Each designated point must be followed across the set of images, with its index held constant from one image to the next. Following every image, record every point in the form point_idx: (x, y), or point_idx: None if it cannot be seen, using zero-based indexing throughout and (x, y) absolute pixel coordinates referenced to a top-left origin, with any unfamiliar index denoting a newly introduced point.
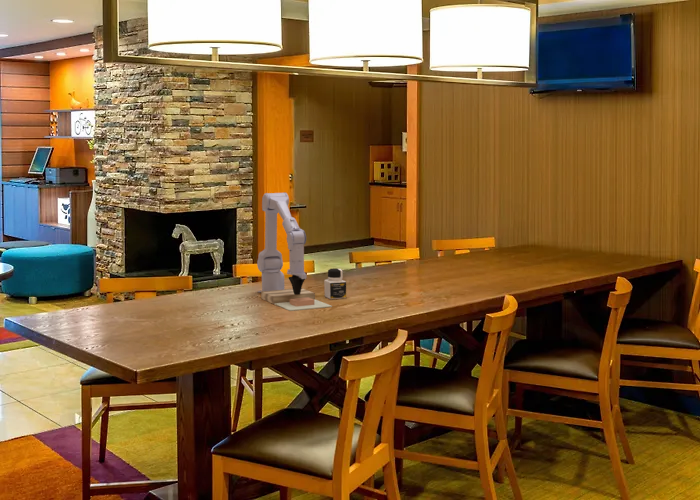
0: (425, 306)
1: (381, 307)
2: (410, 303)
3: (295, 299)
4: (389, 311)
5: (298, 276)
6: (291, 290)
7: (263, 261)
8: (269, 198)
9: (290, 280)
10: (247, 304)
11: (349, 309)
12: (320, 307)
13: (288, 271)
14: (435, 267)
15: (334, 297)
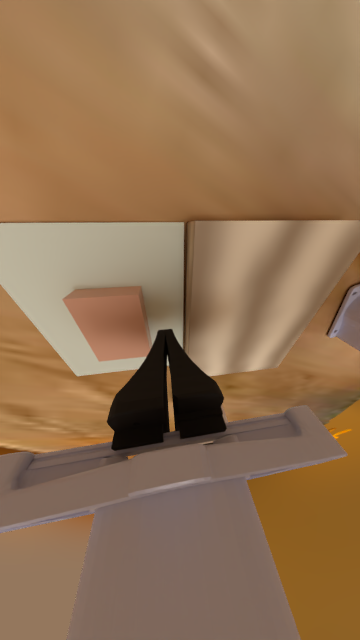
0: (70, 446)
1: (64, 423)
2: (98, 439)
3: (118, 312)
4: (16, 427)
5: (113, 450)
6: (269, 342)
7: None
8: None
9: (190, 376)
10: None
11: (37, 392)
12: (58, 352)
13: (306, 440)
14: None
15: None
